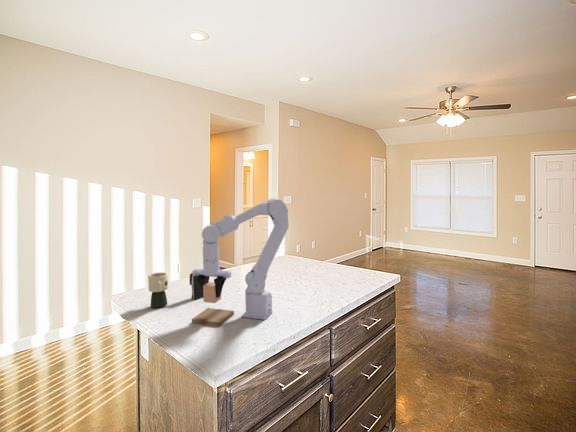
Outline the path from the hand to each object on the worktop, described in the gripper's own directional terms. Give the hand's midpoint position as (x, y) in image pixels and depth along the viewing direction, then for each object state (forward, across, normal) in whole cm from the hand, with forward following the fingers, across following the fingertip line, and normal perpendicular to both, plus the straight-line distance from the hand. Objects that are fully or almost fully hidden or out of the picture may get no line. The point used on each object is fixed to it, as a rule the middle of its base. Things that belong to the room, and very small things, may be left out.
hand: (212, 296), depth 118 cm
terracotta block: (+2, 0, 0) cm, 2 cm away
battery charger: (+9, +18, -19) cm, 28 cm away
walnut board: (+9, 0, 0) cm, 9 cm away
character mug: (+8, +28, -6) cm, 29 cm away
